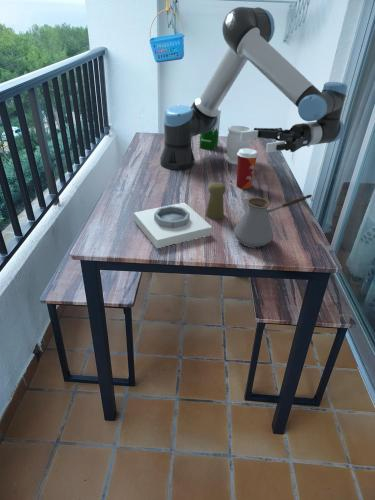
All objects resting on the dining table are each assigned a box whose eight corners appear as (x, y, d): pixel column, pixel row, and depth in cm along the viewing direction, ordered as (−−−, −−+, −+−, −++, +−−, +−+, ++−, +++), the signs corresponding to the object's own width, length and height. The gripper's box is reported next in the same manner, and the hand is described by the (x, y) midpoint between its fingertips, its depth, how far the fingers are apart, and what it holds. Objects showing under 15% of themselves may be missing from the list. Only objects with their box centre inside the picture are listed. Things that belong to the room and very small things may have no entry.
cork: (226, 213, 122) (230, 183, 115) (218, 220, 117) (221, 189, 111) (211, 209, 124) (213, 179, 118) (202, 215, 120) (204, 185, 114)
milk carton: (197, 148, 178) (199, 105, 167) (203, 143, 185) (205, 102, 174) (214, 151, 176) (217, 108, 165) (219, 145, 183) (223, 104, 172)
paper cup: (252, 191, 138) (257, 155, 130) (232, 188, 139) (236, 153, 131) (253, 183, 144) (258, 148, 136) (234, 181, 145) (238, 146, 138)
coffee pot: (237, 252, 102) (244, 204, 94) (229, 231, 112) (234, 186, 103) (309, 250, 104) (322, 203, 96) (295, 230, 114) (306, 186, 106)
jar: (247, 166, 159) (251, 132, 151) (224, 164, 161) (227, 130, 152) (247, 158, 168) (252, 126, 160) (225, 156, 169) (228, 124, 161)
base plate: (134, 220, 115) (133, 206, 112) (184, 210, 122) (184, 196, 120) (157, 249, 102) (156, 234, 99) (211, 235, 109) (212, 221, 107)
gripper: (329, 156, 114) (277, 166, 106) (278, 136, 133) (230, 143, 124) (335, 132, 110) (281, 140, 102) (282, 115, 129) (232, 121, 120)
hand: (253, 142), depth 113 cm, fingers open, 13 cm apart
